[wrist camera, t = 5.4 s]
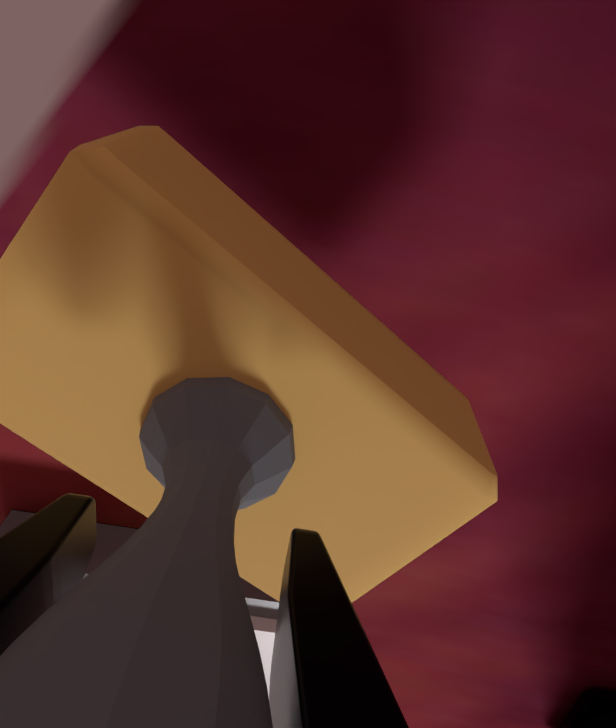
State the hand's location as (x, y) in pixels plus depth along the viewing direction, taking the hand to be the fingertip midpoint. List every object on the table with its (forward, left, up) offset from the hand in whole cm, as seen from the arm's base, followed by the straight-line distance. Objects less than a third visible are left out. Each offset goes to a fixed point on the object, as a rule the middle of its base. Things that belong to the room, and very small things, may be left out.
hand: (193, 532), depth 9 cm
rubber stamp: (0, 0, -6) cm, 6 cm away
